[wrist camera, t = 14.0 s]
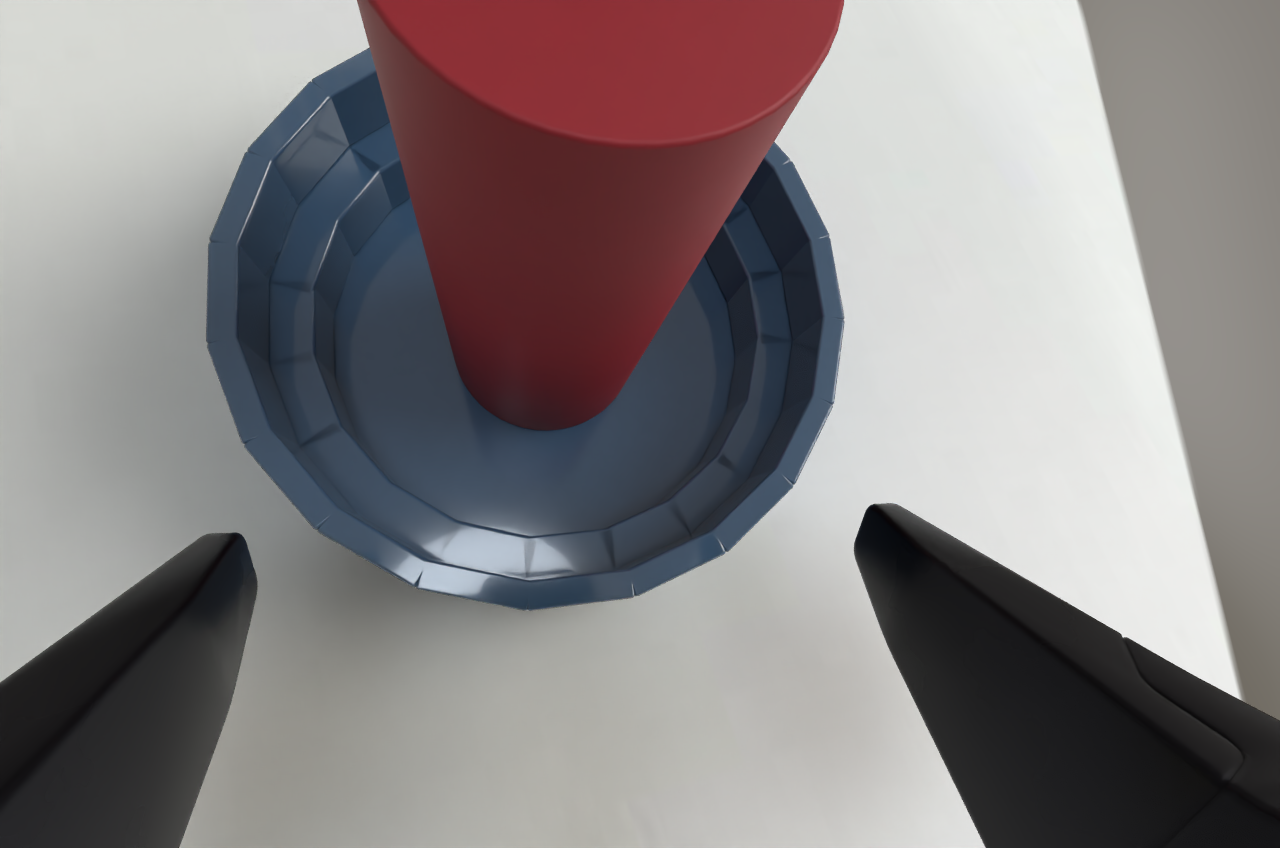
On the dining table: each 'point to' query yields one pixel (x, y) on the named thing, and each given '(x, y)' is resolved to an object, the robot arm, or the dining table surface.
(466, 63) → the candle
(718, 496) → the bowl
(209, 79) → the dining table surface
